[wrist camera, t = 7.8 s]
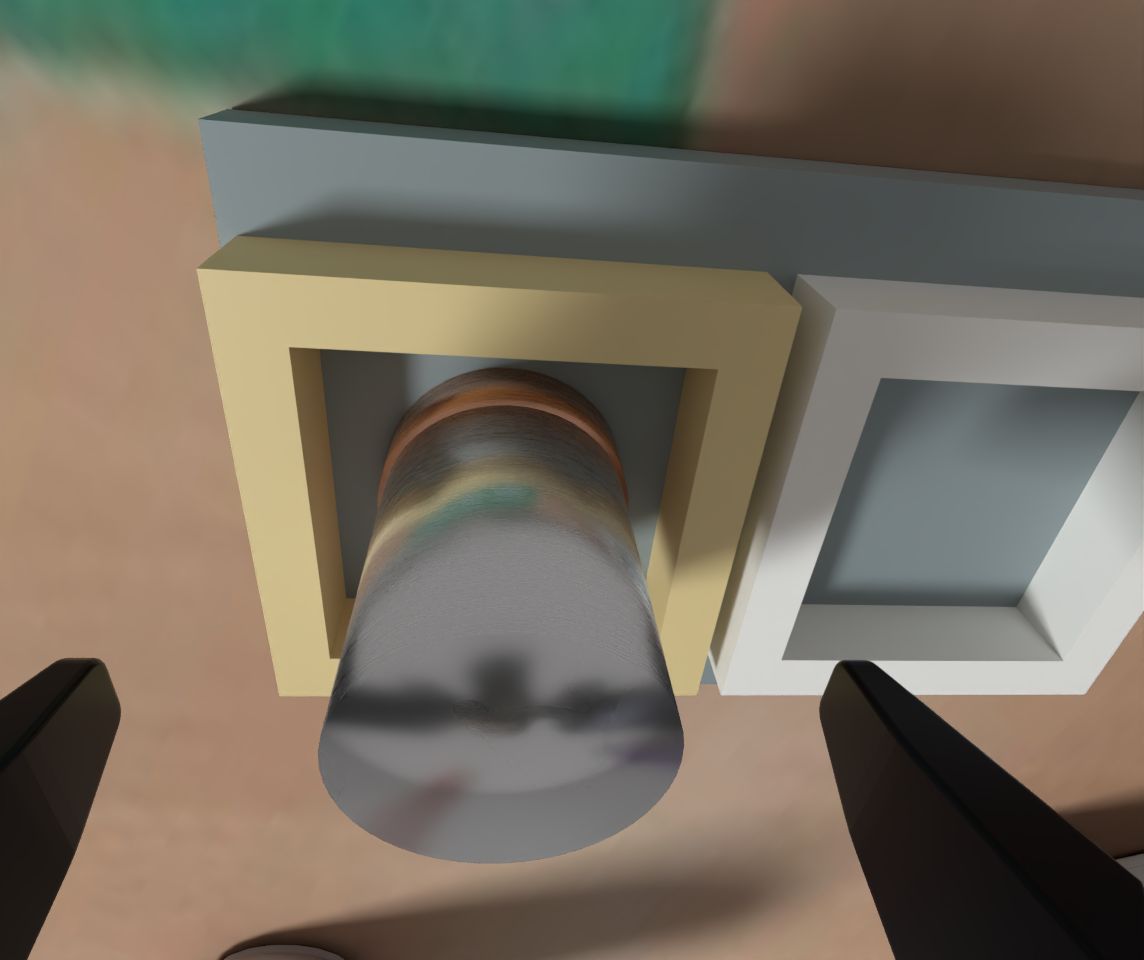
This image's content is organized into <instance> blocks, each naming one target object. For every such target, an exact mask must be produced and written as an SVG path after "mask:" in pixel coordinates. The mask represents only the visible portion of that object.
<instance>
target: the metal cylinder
mask: <svg viewBox="0 0 1144 960" xmlns="http://www.w3.org/2000/svg"><path fill="white" fill-rule="evenodd" d="M628 503H629V501H628V489H627V485H626V481H625V477H624V473H623V469H622V465H621V461H620V457H619V454H618V450H617V446H616V442H615V439H614V436H613V434H612V432H611V429H610V427H609V425H608V424H607V422H606V420H605V419H604V417H603V415H602V414H601V413H600V412H599V410H598V409H597V408H596V407H595V406H594V404H592V403H591V402H590V401H589V400H588V399H587V398H586V397H585V396H584V395H583V394H581V393H580V392H578V391H577V390H575V389H574V388H573V387H571V386H569V385H567V384H566V383H564V382H562V381H560V380H558V379H556V378H553V377H550V376H547V375H545V374H542V373H538V372H534V371H529V370H524V369H515V368H490V369H483V370H476V371H472V372H468V373H464V374H461V375H458V376H456V377H453V378H451V379H448V380H446V381H444V382H442V383H440V384H439V385H437V386H435V387H433V388H432V389H430V390H429V391H428V392H426V393H425V394H424V395H422V396H421V397H420V398H419V399H418V400H417V401H416V402H415V403H414V404H413V405H412V406H411V407H410V408H409V409H408V410H407V412H406V413H405V414H404V416H403V417H402V419H401V420H400V422H399V424H398V426H397V428H396V429H395V431H394V434H393V437H392V440H391V443H390V446H389V450H388V454H387V457H386V461H385V465H384V469H383V472H382V476H381V480H380V485H379V490H378V505H377V509H378V513H377V517H376V520H375V524H374V528H373V532H372V536H371V540H370V544H369V548H368V552H367V556H366V560H365V564H364V568H363V571H362V575H361V579H360V583H359V587H358V591H357V595H356V599H355V603H354V607H353V611H352V615H351V619H350V622H349V626H348V630H347V634H346V638H345V642H344V646H343V650H342V654H341V658H340V662H339V666H338V670H337V673H336V677H335V681H334V685H333V689H332V693H331V697H330V701H329V705H328V709H327V713H326V717H325V721H324V724H323V728H322V732H321V737H320V743H319V749H318V759H319V769H320V772H321V776H322V780H323V783H324V785H325V787H326V789H327V791H328V793H329V795H330V796H331V798H332V799H333V800H334V802H335V803H336V804H337V806H338V807H339V808H340V809H341V810H342V811H343V812H344V813H345V814H346V815H347V816H348V817H349V818H350V819H351V820H352V821H353V822H355V823H356V824H357V825H359V826H360V827H361V828H363V829H364V830H365V831H367V832H369V833H370V834H372V835H374V836H376V837H377V838H379V839H381V840H383V841H385V842H388V843H390V844H392V845H394V846H397V847H399V848H402V849H405V850H408V851H411V852H414V853H417V854H421V855H425V856H429V857H433V858H437V859H444V860H450V861H457V862H468V863H513V862H524V861H531V860H539V859H544V858H549V857H553V856H558V855H562V854H566V853H569V852H572V851H576V850H579V849H582V848H585V847H587V846H590V845H593V844H595V843H598V842H600V841H602V840H604V839H606V838H608V837H610V836H612V835H614V834H616V833H618V832H620V831H621V830H623V829H625V828H626V827H628V826H630V825H631V824H633V823H634V822H635V821H637V820H638V819H639V818H641V817H642V816H643V815H645V814H646V813H647V812H648V811H649V810H650V809H651V808H652V807H653V806H654V805H655V804H656V803H657V802H658V801H659V800H660V799H661V798H662V796H663V795H664V794H665V793H666V791H667V790H668V789H669V787H670V785H671V784H672V782H673V780H674V778H675V777H676V775H677V772H678V769H679V767H680V764H681V761H682V755H683V749H684V737H683V729H682V725H681V721H680V717H679V713H678V709H677V705H676V701H675V697H674V693H673V689H672V685H671V681H670V677H669V673H668V669H667V665H666V661H665V657H664V653H663V649H662V645H661V641H660V637H659V633H658V629H657V625H656V621H655V617H654V613H653V609H652V605H651V601H650V597H649V593H648V589H647V585H646V581H645V577H644V573H643V569H642V565H641V561H640V557H639V553H638V549H637V545H636V541H635V537H634V533H633V529H632V525H631V521H630V517H629V513H628Z"/></svg>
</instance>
